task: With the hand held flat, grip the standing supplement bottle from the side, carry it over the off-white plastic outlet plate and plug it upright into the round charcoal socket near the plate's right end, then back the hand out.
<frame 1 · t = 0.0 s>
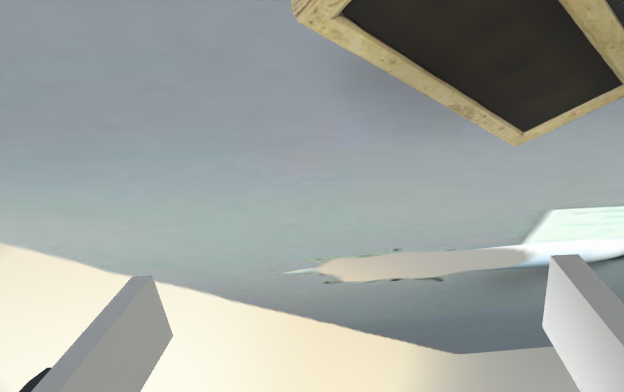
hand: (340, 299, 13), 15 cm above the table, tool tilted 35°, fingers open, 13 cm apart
box: (498, 4, 21), on the table
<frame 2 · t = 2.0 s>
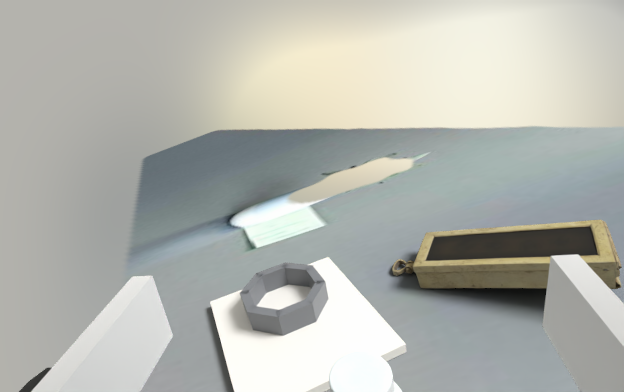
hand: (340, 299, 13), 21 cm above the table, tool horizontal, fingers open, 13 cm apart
box: (491, 279, 46), on the table
outlet plate: (296, 327, 44), on the table
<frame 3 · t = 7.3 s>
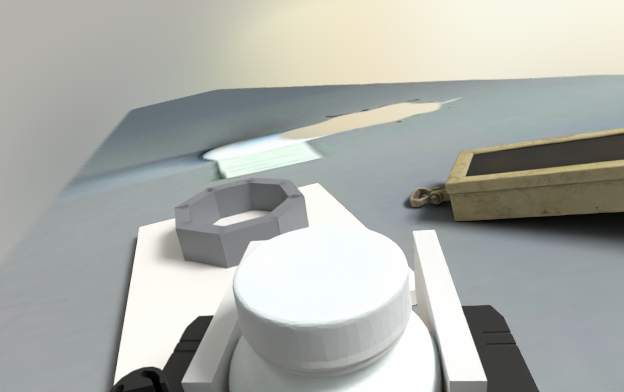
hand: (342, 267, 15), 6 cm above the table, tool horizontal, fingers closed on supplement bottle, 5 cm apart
box: (566, 211, 29), on the table
outlet plate: (254, 262, 28), on the table
when the fingers open (8 cm above the table, at t = 12.5 s): supplement bottle drops 1 cm, resting on outlet plate.
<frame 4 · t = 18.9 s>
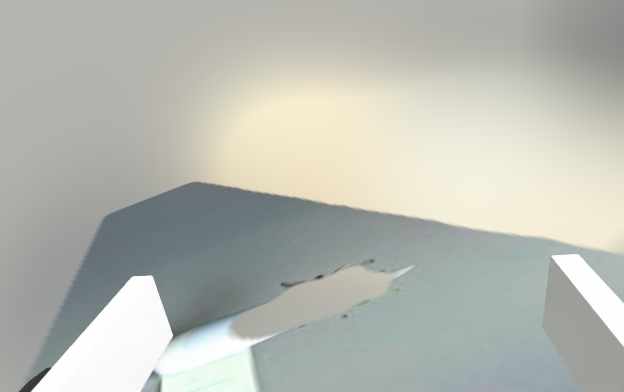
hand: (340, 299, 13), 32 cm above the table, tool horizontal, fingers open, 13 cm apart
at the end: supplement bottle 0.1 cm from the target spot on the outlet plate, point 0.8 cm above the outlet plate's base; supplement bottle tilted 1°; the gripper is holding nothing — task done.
